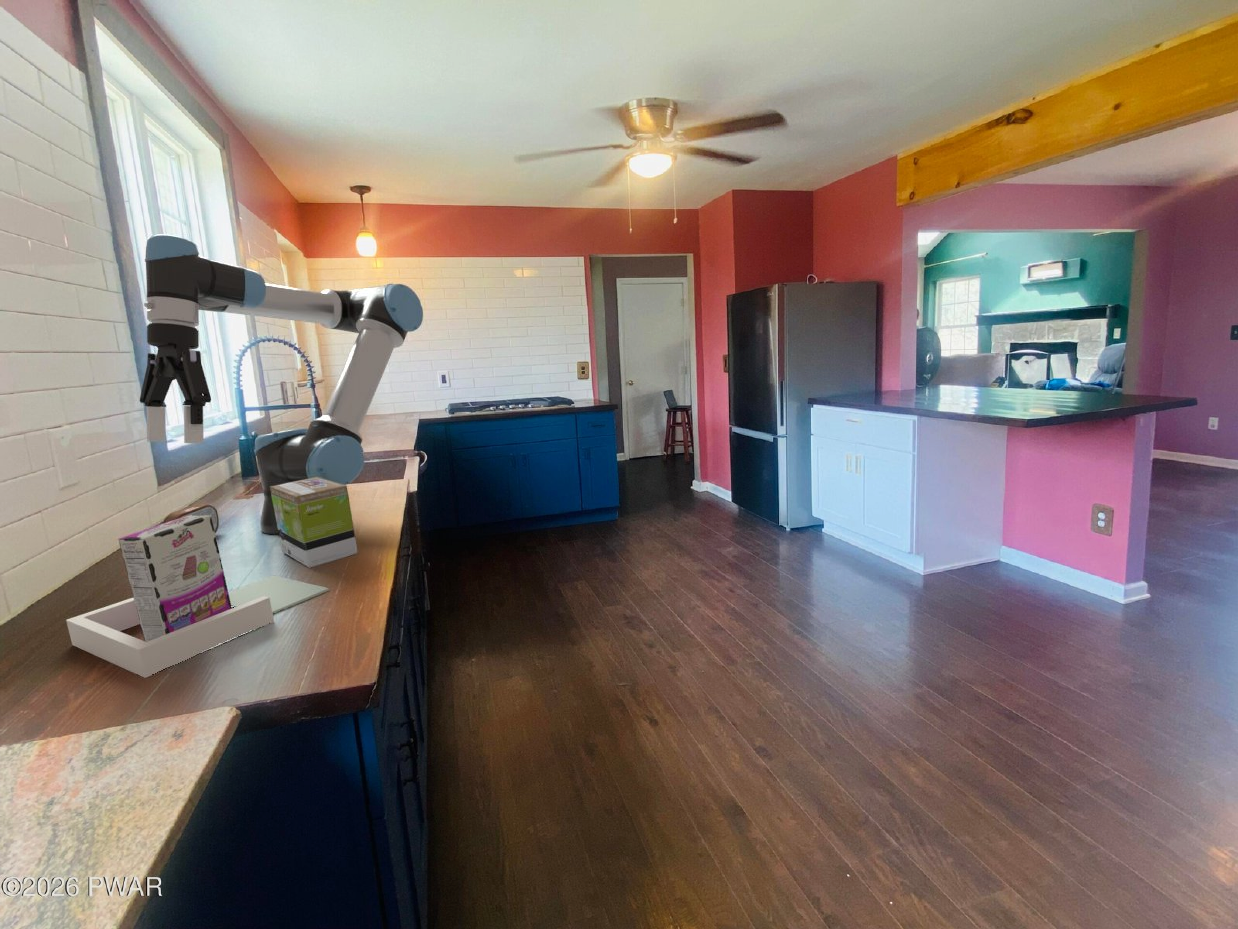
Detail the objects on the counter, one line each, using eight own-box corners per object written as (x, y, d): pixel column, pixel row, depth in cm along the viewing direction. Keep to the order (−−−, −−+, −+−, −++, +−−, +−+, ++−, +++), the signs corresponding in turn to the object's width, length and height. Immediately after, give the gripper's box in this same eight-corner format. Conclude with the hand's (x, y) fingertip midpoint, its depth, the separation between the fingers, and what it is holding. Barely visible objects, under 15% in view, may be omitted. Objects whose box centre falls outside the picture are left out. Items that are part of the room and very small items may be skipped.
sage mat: (274, 577, 110) (273, 575, 110) (328, 590, 103) (328, 588, 102) (210, 601, 101) (210, 598, 101) (265, 617, 93) (265, 614, 93)
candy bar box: (207, 611, 97) (187, 514, 94) (233, 612, 96) (214, 514, 93) (141, 645, 86) (115, 537, 83) (169, 646, 85) (145, 537, 82)
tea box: (280, 554, 124) (267, 485, 121) (329, 540, 131) (319, 475, 128) (307, 569, 114) (294, 494, 111) (359, 554, 121) (348, 483, 118)
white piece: (198, 599, 102) (193, 577, 101) (274, 621, 91) (269, 597, 90) (72, 645, 87) (65, 619, 87) (145, 678, 77) (138, 649, 76)
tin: (211, 533, 142) (205, 499, 141) (224, 533, 142) (218, 499, 140) (162, 555, 128) (154, 518, 126) (177, 555, 127) (168, 517, 126)
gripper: (116, 326, 111) (118, 440, 112) (185, 315, 98) (186, 443, 99) (163, 333, 117) (164, 441, 118) (233, 323, 105) (234, 443, 106)
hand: (174, 442), depth 109 cm, fingers open, 13 cm apart
